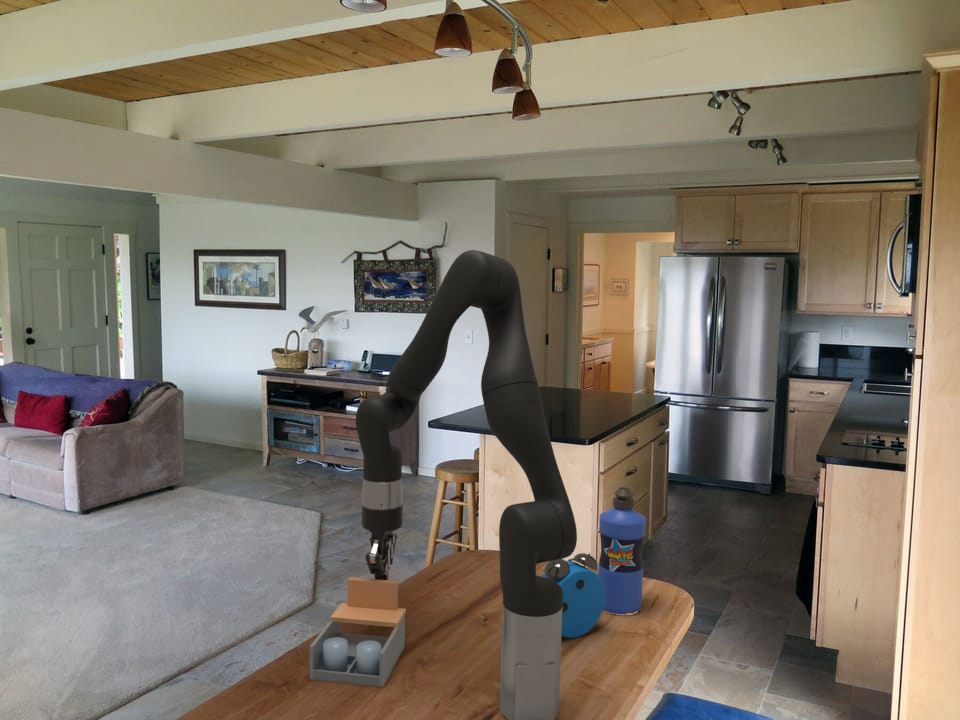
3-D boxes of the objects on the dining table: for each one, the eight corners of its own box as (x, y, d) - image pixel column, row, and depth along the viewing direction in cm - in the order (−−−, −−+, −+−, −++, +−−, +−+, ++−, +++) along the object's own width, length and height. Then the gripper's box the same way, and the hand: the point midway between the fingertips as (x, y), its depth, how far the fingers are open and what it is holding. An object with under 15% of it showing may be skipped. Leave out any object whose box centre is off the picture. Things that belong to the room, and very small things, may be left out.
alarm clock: (585, 619, 156) (588, 545, 154) (605, 631, 151) (608, 555, 149) (531, 633, 149) (533, 557, 148) (550, 647, 144) (553, 568, 142)
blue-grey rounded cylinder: (380, 680, 129) (381, 651, 128) (356, 681, 128) (356, 652, 128) (380, 668, 133) (381, 640, 132) (356, 669, 132) (357, 640, 132)
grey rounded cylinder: (346, 677, 130) (346, 648, 129) (322, 677, 129) (322, 648, 129) (348, 665, 134) (348, 636, 133) (324, 665, 133) (324, 637, 133)
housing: (382, 692, 127) (383, 653, 126) (309, 684, 129) (309, 646, 128) (404, 651, 141) (404, 616, 140) (337, 645, 143) (338, 610, 142)
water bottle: (599, 594, 168) (603, 480, 165) (643, 600, 166) (649, 484, 163) (593, 612, 159) (598, 492, 156) (640, 619, 157) (646, 496, 154)
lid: (397, 627, 136) (397, 595, 135) (330, 621, 138) (330, 589, 137) (405, 612, 142) (406, 581, 141) (341, 607, 144) (341, 576, 143)
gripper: (392, 513, 138) (391, 608, 140) (410, 493, 151) (409, 580, 153) (351, 510, 139) (350, 604, 141) (373, 490, 152) (372, 577, 154)
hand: (381, 591), depth 147 cm, fingers closed
